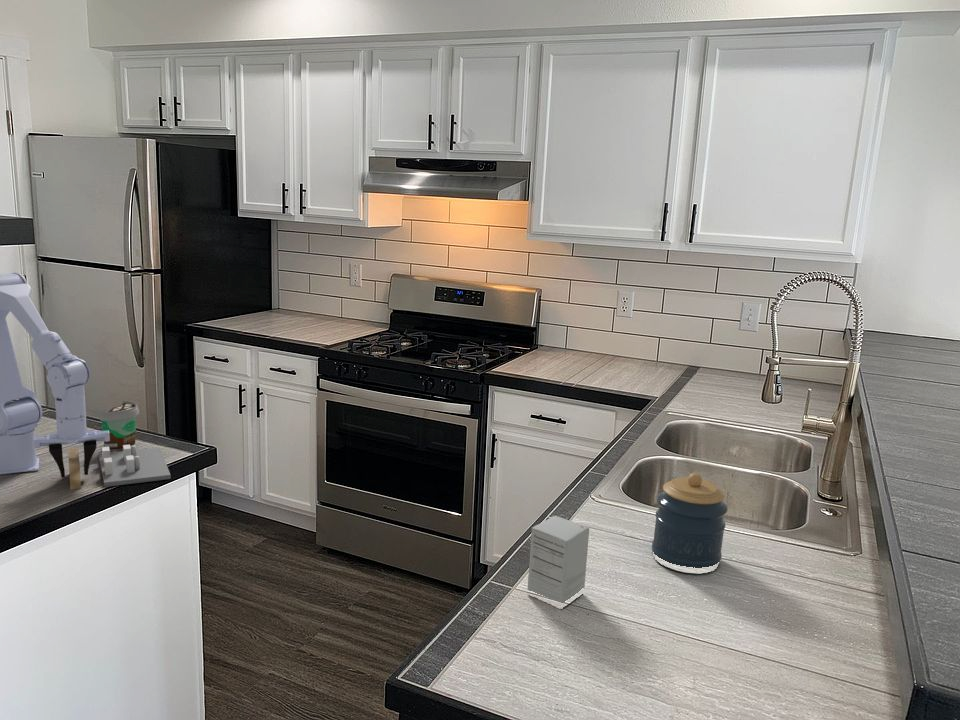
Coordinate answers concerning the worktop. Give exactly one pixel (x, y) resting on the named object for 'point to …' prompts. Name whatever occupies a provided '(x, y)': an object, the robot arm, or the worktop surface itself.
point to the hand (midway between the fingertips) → (74, 474)
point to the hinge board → (132, 466)
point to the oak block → (74, 469)
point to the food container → (120, 425)
